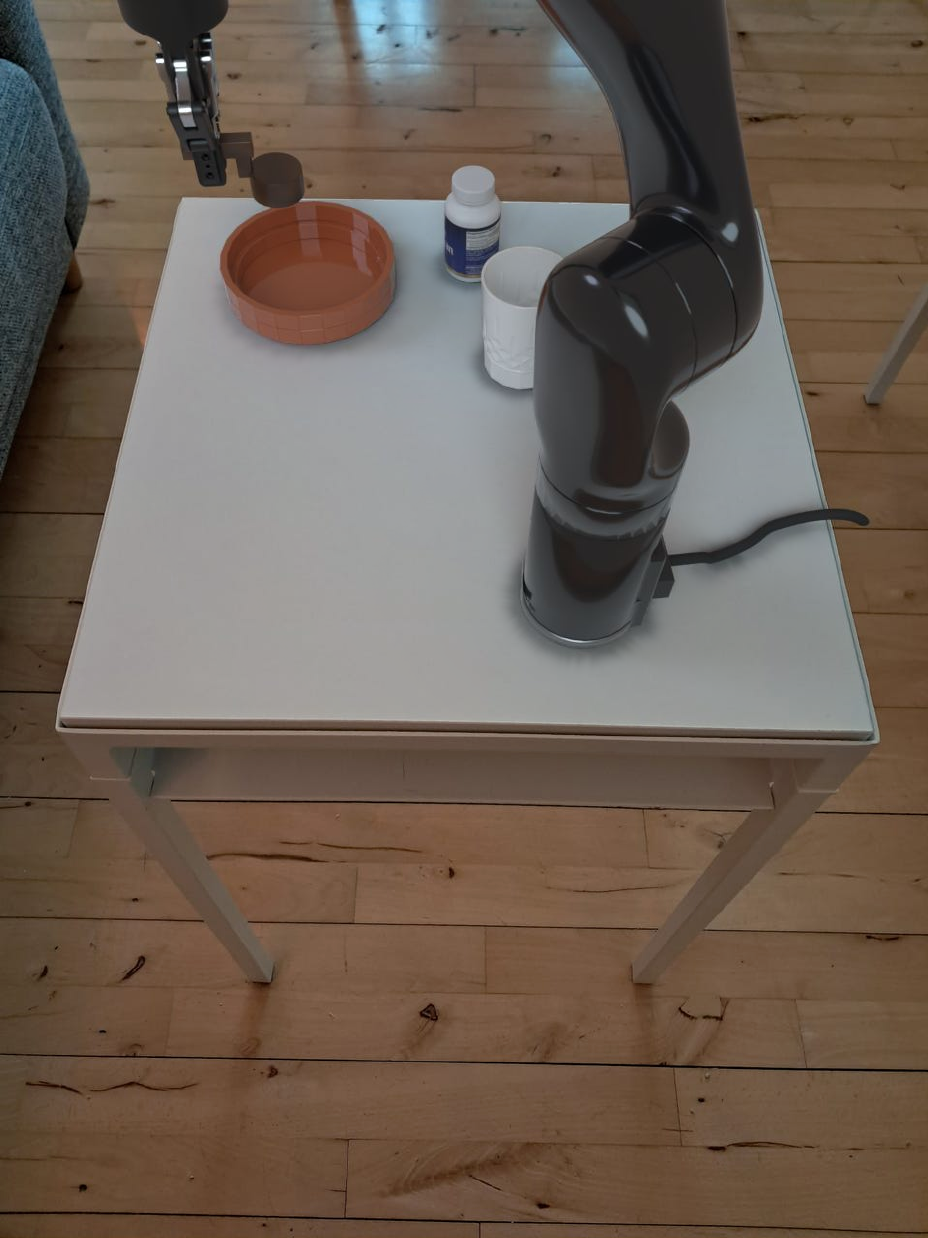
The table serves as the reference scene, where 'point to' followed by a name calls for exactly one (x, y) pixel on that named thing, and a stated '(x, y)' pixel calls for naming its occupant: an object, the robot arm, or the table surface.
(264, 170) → the brown cylinder with tab
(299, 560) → the table surface
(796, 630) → the table surface
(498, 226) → the pill bottle
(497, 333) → the white cup
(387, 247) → the bowl
